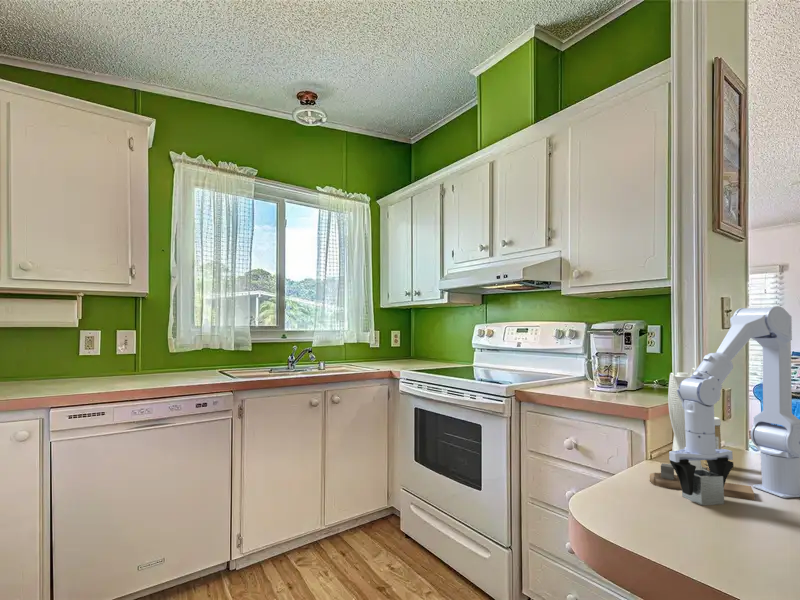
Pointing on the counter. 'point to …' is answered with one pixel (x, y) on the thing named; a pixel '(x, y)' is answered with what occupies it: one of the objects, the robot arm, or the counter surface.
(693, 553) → the counter surface
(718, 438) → the sprinkles bottle
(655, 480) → the walnut base
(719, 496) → the steel collar
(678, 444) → the skyscraper
